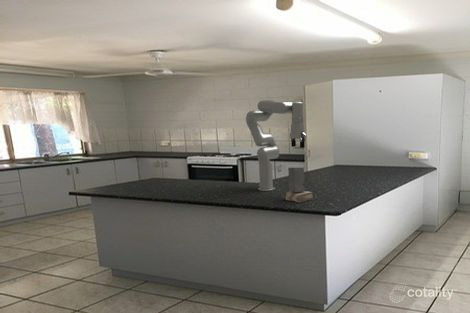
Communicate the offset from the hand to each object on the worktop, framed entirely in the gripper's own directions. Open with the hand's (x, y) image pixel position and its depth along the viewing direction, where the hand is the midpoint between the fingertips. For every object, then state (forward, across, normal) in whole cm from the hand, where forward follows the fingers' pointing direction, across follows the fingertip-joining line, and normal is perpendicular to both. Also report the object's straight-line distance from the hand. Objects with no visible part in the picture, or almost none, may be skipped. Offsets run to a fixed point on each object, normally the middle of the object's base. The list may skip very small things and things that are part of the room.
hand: (297, 147), depth 247 cm
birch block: (+33, +10, -7) cm, 35 cm away
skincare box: (+28, +9, -7) cm, 30 cm away
